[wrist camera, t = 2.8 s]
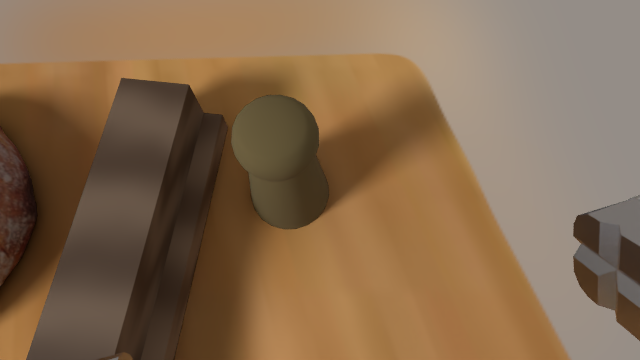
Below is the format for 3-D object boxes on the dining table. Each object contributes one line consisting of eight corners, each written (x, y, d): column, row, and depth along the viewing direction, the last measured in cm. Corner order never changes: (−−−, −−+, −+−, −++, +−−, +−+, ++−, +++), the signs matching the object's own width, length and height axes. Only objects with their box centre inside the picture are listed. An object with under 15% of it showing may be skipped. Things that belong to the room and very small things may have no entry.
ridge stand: (134, 117, 40) (101, 76, 34) (227, 126, 39) (209, 86, 33) (22, 472, 30) (-49, 497, 25) (142, 493, 29) (97, 523, 24)
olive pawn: (259, 152, 38) (230, 73, 28) (333, 160, 37) (332, 83, 27) (244, 224, 36) (207, 166, 26) (323, 234, 35) (317, 180, 25)
